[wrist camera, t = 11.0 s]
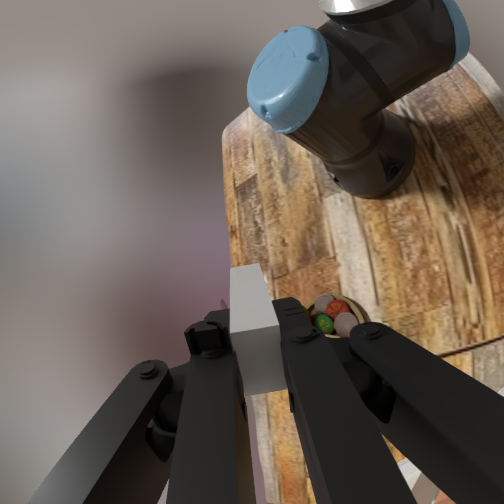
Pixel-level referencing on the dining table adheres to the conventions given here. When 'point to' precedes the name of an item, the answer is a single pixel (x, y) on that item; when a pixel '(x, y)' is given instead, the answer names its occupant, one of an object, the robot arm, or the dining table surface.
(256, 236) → the dining table surface
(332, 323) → the toy sandwich meal
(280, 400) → the dining table surface
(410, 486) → the white capped block
